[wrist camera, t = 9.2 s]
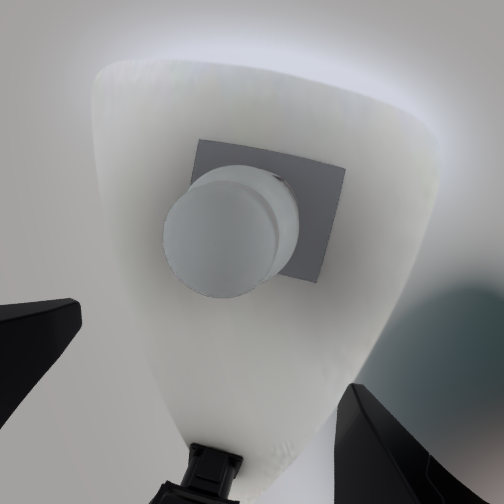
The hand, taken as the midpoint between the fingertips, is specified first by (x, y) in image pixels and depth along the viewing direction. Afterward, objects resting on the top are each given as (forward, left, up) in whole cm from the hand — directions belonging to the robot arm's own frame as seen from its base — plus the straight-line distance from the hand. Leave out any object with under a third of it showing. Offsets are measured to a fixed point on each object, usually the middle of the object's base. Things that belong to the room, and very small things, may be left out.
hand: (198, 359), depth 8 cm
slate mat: (+3, +1, -13) cm, 13 cm away
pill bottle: (+3, +1, -12) cm, 13 cm away
